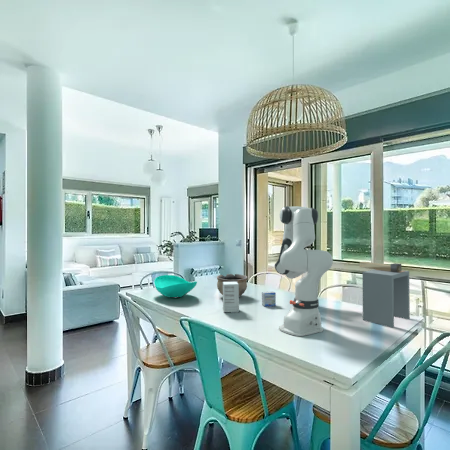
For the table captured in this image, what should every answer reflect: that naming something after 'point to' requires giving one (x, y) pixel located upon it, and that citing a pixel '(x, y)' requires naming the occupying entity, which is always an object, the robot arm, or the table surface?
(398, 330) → the table surface
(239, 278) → the ceramic bowl
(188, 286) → the table top decor
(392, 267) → the beech handle
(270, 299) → the medicine box
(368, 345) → the table surface
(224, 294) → the supplement box
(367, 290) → the shelf stand
